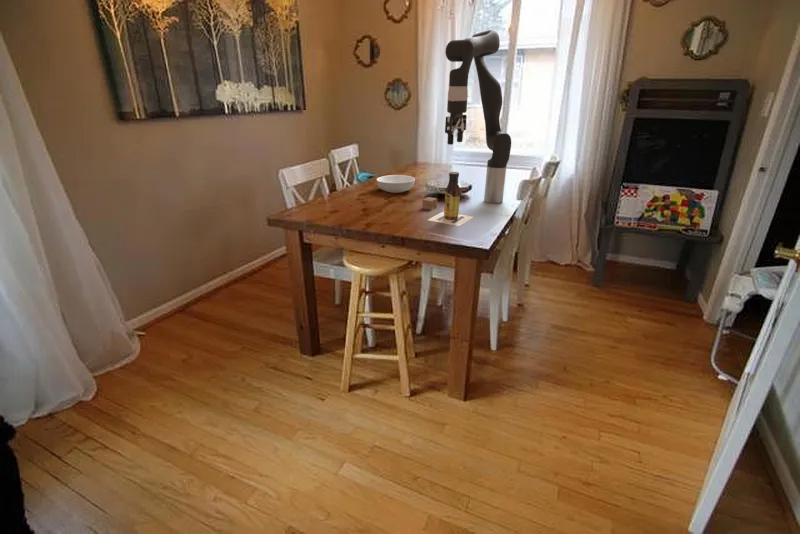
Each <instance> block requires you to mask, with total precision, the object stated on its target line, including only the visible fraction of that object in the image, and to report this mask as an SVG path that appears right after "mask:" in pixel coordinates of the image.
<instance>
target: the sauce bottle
mask: <svg viewBox="0 0 800 534" xmlns="http://www.w3.org/2000/svg"><path fill="white" fill-rule="evenodd" d="M459 177H460V173H459V172H458V171H450V172H449V173H448V180H449V181H448V184H447V187H446V189H445V194H444V210H443V211H444V218H446V219H448V220H455V219H457V218H458V214H459V211H460V197H461V196H460V194H461V188H460V185H459Z"/></svg>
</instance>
